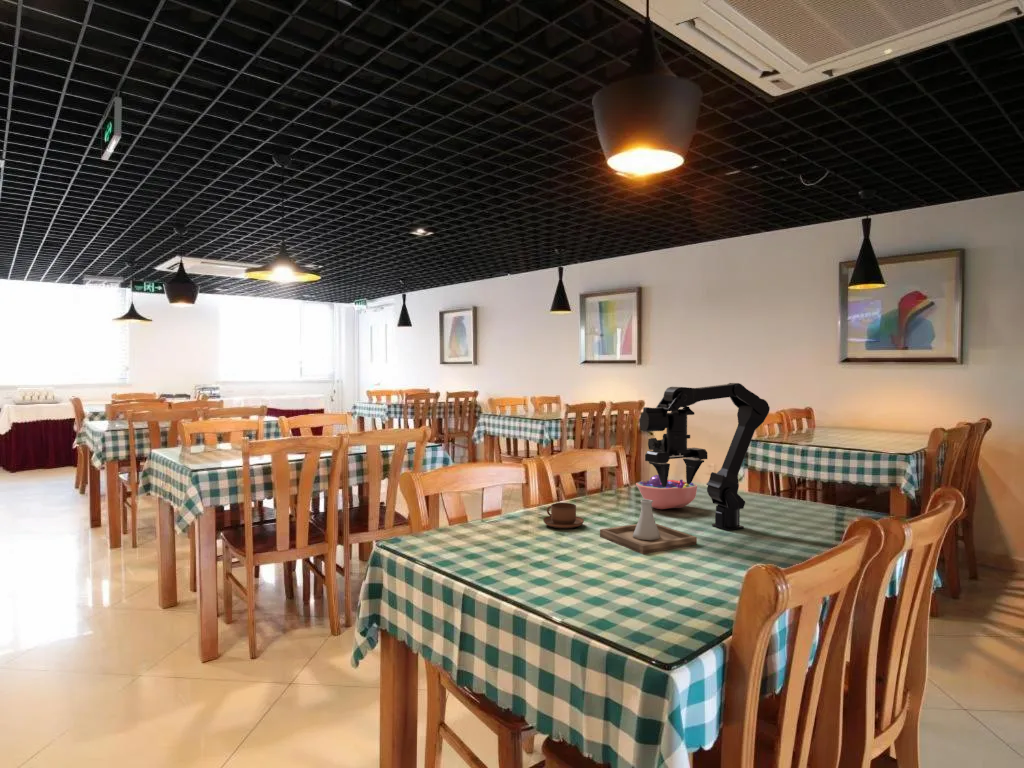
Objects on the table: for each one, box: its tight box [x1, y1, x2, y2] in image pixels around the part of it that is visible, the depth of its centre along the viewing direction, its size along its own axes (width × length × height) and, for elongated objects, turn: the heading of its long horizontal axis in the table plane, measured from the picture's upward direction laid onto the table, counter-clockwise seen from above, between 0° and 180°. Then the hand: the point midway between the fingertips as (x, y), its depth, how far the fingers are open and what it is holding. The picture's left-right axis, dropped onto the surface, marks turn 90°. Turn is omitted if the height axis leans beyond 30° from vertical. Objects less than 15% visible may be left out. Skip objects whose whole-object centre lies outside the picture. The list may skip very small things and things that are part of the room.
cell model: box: [635, 474, 698, 510], centre depth 200 cm, size 17×20×11 cm
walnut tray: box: [599, 523, 698, 555], centre depth 162 cm, size 18×18×2 cm
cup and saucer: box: [543, 502, 585, 529], centre depth 178 cm, size 12×12×6 cm
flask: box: [632, 498, 660, 540], centre depth 162 cm, size 7×7×10 cm
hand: (676, 485), depth 172 cm, fingers open, 9 cm apart
